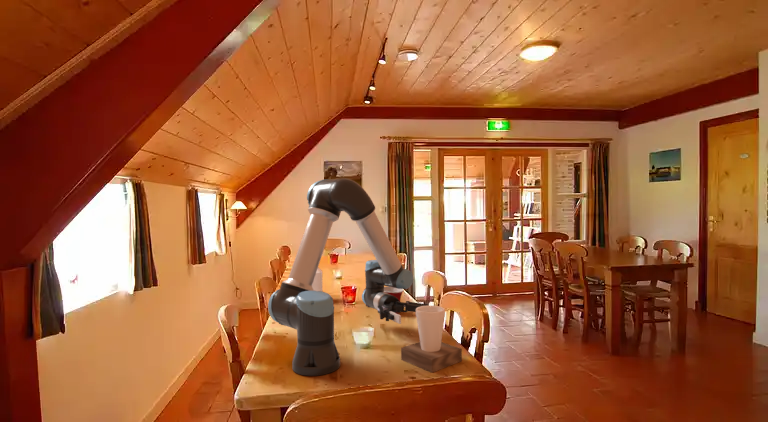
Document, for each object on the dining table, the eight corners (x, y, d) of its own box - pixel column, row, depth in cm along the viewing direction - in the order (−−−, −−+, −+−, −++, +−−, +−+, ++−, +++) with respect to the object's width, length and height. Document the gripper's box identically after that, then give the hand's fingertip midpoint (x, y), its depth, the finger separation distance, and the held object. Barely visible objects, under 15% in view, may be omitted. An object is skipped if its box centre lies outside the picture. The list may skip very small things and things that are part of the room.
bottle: (295, 302, 222) (294, 254, 222) (314, 298, 230) (313, 252, 230) (307, 306, 214) (306, 256, 213) (327, 302, 222) (326, 254, 221)
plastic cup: (401, 317, 191) (401, 291, 191) (378, 316, 194) (377, 290, 193) (405, 311, 202) (405, 286, 202) (383, 310, 204) (382, 285, 204)
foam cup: (449, 346, 142) (449, 307, 142) (437, 355, 135) (436, 314, 134) (424, 341, 148) (424, 304, 147) (411, 350, 140) (410, 310, 139)
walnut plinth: (431, 372, 131) (431, 359, 131) (401, 359, 142) (401, 347, 142) (461, 360, 140) (461, 348, 140) (430, 349, 151) (430, 338, 151)
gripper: (413, 308, 173) (446, 321, 154) (357, 318, 161) (385, 333, 142) (413, 290, 173) (445, 301, 154) (357, 298, 160) (385, 311, 142)
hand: (417, 316), depth 148 cm, fingers open, 13 cm apart
